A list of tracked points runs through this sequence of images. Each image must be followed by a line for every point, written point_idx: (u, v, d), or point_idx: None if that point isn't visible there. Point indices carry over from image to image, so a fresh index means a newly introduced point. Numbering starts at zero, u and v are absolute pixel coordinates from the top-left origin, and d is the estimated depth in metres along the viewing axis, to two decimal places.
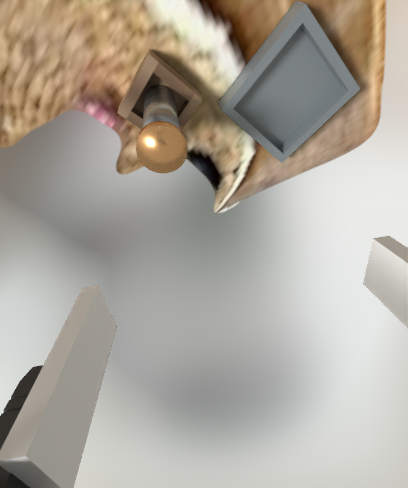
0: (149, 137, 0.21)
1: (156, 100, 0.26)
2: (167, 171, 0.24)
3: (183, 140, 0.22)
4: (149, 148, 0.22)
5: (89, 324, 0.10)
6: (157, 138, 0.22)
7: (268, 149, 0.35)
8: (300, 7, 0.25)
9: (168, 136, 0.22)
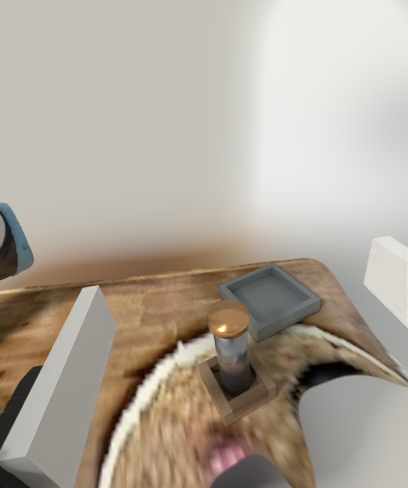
0: (212, 318, 0.26)
1: None
2: (247, 318, 0.26)
3: (227, 300, 0.28)
4: (220, 321, 0.26)
5: (89, 324, 0.10)
6: (216, 313, 0.27)
7: (303, 306, 0.39)
8: (219, 287, 0.46)
9: (219, 307, 0.27)
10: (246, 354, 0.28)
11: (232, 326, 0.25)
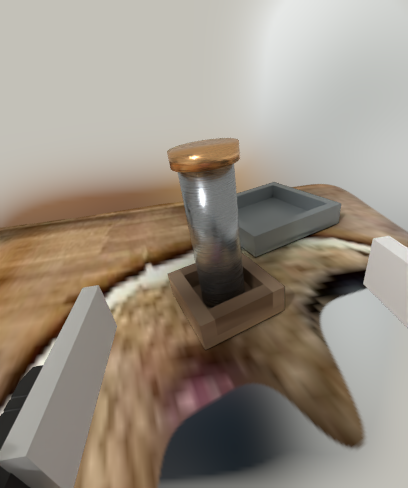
0: (177, 150, 0.15)
1: None
2: (235, 142, 0.15)
3: (203, 140, 0.17)
4: (189, 149, 0.15)
5: (89, 324, 0.10)
6: (183, 147, 0.16)
7: (318, 211, 0.29)
8: None
9: (189, 144, 0.17)
10: (236, 226, 0.17)
11: (208, 149, 0.14)
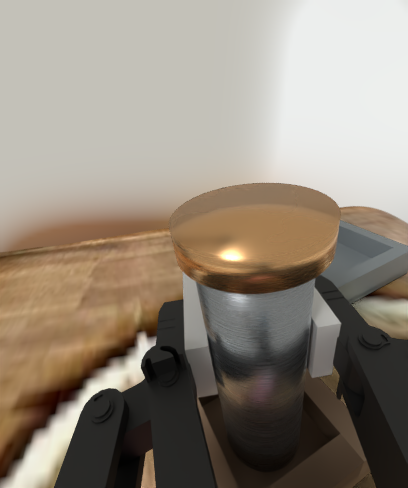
0: (191, 222, 0.07)
1: None
2: (333, 210, 0.06)
3: (242, 186, 0.09)
4: (223, 228, 0.06)
5: None
6: (205, 211, 0.07)
7: (384, 261, 0.20)
8: None
9: (215, 199, 0.08)
10: (306, 359, 0.09)
11: (275, 236, 0.06)
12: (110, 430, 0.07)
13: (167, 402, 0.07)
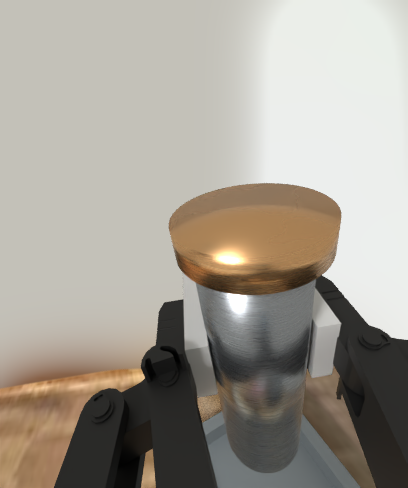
0: (191, 223, 0.07)
1: None
2: (334, 211, 0.06)
3: (242, 186, 0.09)
4: (223, 228, 0.06)
5: None
6: (205, 212, 0.07)
7: None
8: None
9: (216, 199, 0.08)
10: (306, 360, 0.09)
11: (276, 237, 0.06)
12: (110, 430, 0.07)
13: (167, 402, 0.07)
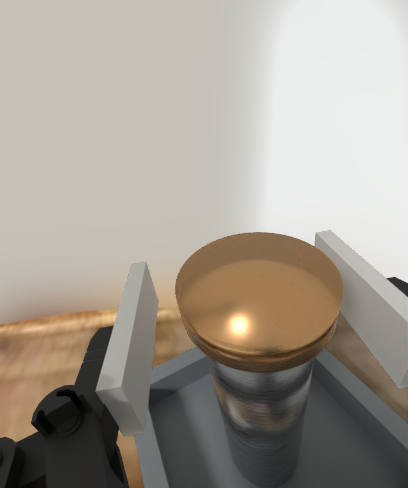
0: (197, 289, 0.07)
1: None
2: (336, 284, 0.06)
3: (245, 235, 0.09)
4: (229, 300, 0.06)
5: (143, 293, 0.11)
6: (210, 273, 0.07)
7: None
8: None
9: (220, 254, 0.08)
10: (306, 400, 0.09)
11: (280, 319, 0.06)
12: None
13: (68, 454, 0.06)
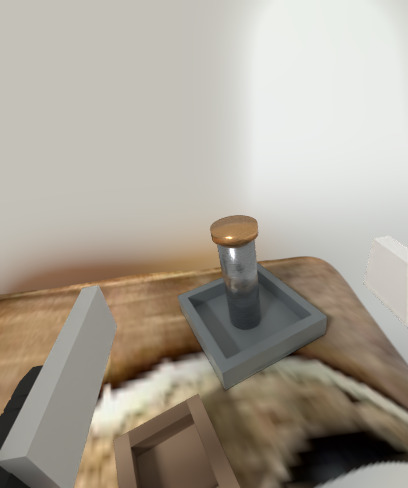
0: (217, 229, 0.24)
1: None
2: (255, 225, 0.23)
3: (232, 216, 0.26)
4: (225, 230, 0.23)
5: (89, 324, 0.10)
6: (220, 225, 0.24)
7: (299, 329, 0.25)
8: (178, 299, 0.32)
9: (223, 221, 0.25)
10: (255, 274, 0.26)
11: (238, 232, 0.23)
12: None
13: None
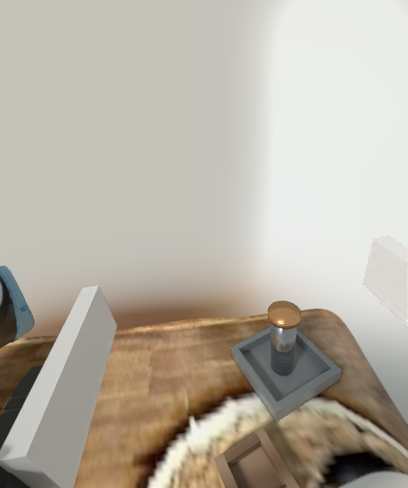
0: (273, 314, 0.36)
1: None
2: (299, 314, 0.35)
3: (280, 301, 0.38)
4: (280, 316, 0.35)
5: (89, 324, 0.10)
6: (275, 311, 0.36)
7: (324, 380, 0.37)
8: (231, 350, 0.44)
9: (275, 306, 0.37)
10: (295, 342, 0.37)
11: (289, 320, 0.34)
12: None
13: None
